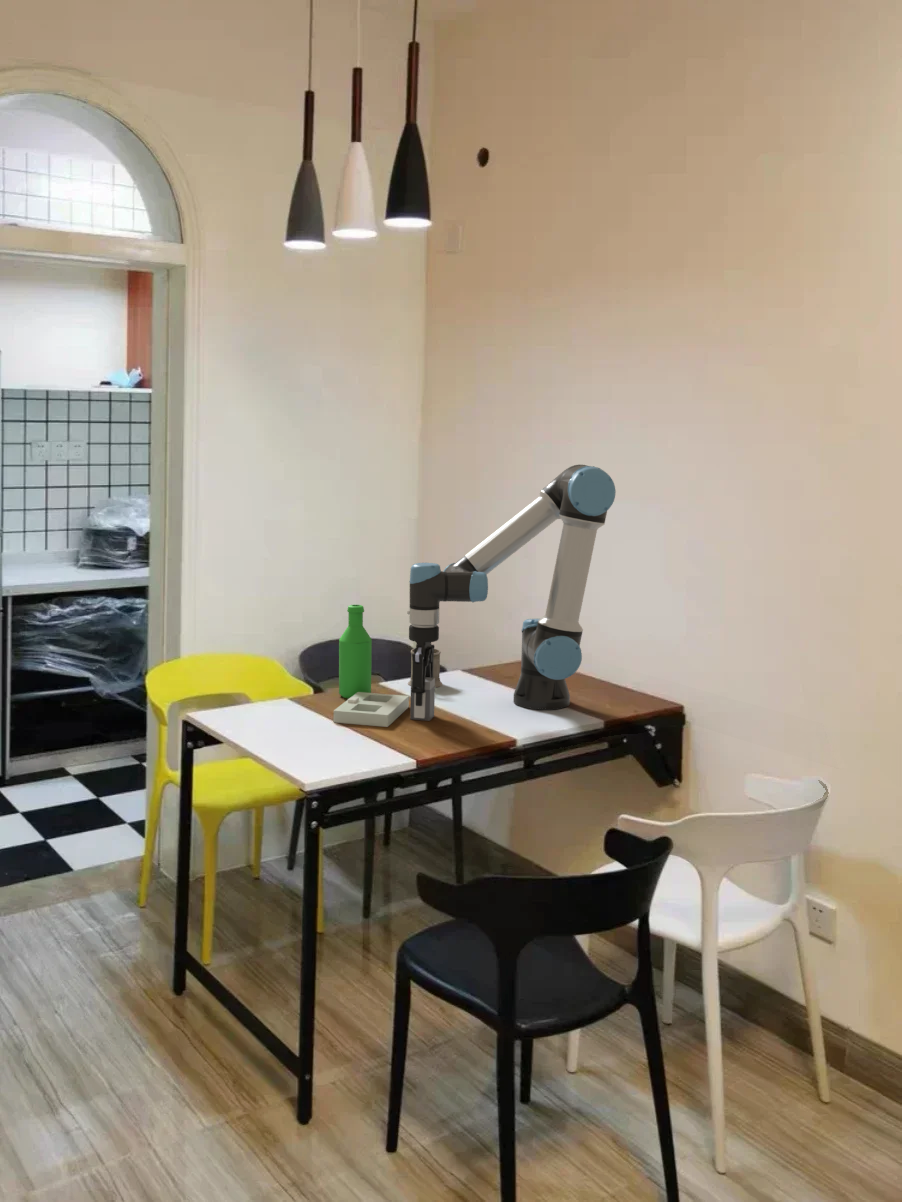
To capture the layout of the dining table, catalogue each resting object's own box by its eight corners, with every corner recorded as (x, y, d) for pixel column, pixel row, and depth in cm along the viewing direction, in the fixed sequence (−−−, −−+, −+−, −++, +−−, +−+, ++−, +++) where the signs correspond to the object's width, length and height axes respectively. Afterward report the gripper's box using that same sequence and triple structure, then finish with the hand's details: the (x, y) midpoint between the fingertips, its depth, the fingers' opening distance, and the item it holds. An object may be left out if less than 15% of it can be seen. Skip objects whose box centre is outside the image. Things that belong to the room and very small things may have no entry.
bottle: (373, 692, 312) (374, 603, 308) (368, 700, 303) (369, 608, 299) (342, 691, 313) (342, 602, 309) (335, 699, 304) (336, 607, 300)
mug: (411, 679, 329) (411, 638, 327) (444, 681, 327) (445, 640, 326) (402, 691, 315) (402, 648, 313) (437, 692, 313) (437, 650, 311)
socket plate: (408, 707, 298) (408, 693, 297) (387, 726, 278) (387, 711, 278) (357, 702, 301) (357, 689, 300) (333, 722, 281) (333, 707, 281)
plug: (434, 715, 289) (434, 677, 288) (429, 720, 285) (430, 682, 283) (415, 714, 291) (415, 676, 289) (410, 719, 286) (410, 680, 284)
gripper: (418, 617, 293) (417, 705, 297) (400, 630, 276) (398, 722, 280) (446, 619, 292) (444, 707, 295) (429, 632, 274) (428, 725, 278)
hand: (422, 714), depth 287 cm, fingers closed on plug, 5 cm apart
